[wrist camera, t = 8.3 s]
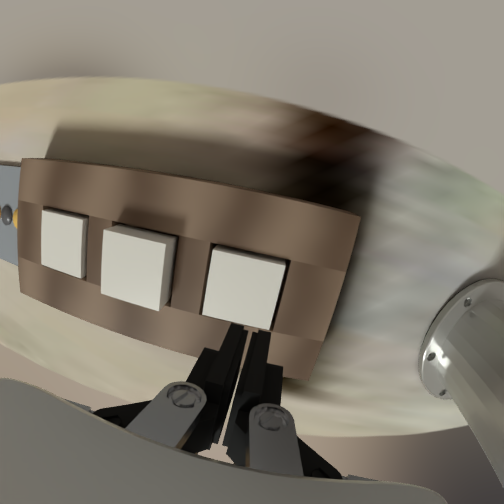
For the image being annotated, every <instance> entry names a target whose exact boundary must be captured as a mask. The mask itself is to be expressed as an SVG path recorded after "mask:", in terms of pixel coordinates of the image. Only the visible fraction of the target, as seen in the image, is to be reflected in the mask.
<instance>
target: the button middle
mask: <svg viewBox="0 0 504 504" xmlns="http://www.w3.org/2000/svg"><path fill="white" fill-rule="evenodd" d="M177 241H178V237H176V236H172V235H167V234H163V233H158V232H154V231H149V230H145V229H140V228H136V227H131V226H127V225H122V224H119V225H116V226H113V227H110V228H107V229H104V231H103V245H102V265H101V294H104V295H107V296H110V297H114V298H117V299H120V300H123V301H126V302H129V303H133V304H136V305H139V306H142V307H146V308H149V309H152V310H156V311H160V310H161V308H162V307H163V306H164V305H165V304H166V303H167V302H168V300H169V299H170V297H171V288H172V280H173V271H174V263H175V256H176V248H177Z"/></svg>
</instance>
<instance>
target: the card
mask: <svg viewBox="0 0 504 504" xmlns="http://www.w3.org/2000/svg"><path fill="white" fill-rule="evenodd" d="M20 170H21V167H17V166H7V165H0V258H1V259H3V260H5V261H8V262H10V263H12V264H14V265H17V266H18V249H17V213H18V193H19V180H20Z"/></svg>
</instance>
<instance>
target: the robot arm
mask: <svg viewBox="0 0 504 504" xmlns="http://www.w3.org/2000/svg"><path fill="white" fill-rule="evenodd" d="M248 331H249V330H244V326H243V325H239V324H235V323H231V324H230V327H229V329H228V331H227V334H226V336H225V338H224V340H223V343H222V345H221V347H220V349H219V351H217V350H213V349H210V348H206V347H205V348H204V349H203V351H202V352H201V354H200V356H199V358H198V360H197V362H196V364H195V365H194V367H193V369H192V371H191V373H190V375H189V377H188V378H187V380H186V382H181V381H180V382H173V383H170V384H168V385H167V386H165V387H164V388H163V389H162V390H161V391H160V393H159V394H158V395H157V396H156V397H155V398H154V399H153V400H150V401H145V402H139V403H134V404H128V405H122V406H116V407H109V408H103V409H99V410H97V411H92V410H91V408H90V407H88V406H85V405H82V404H78V403H75V402H72V401H69V400H66V399H63V398H60V397H58V396H56V395H54V394H53V393H50V392H48V391H46V390H43V389H41V388H39V387H37V386H34V385H31V384H29V383H26V382H22V381H18V380H15V379H9V378H0V504H447V502H446V501H445V499H444V498H443V497H442V496H441V495H439V494H438V493H436V492H434V491H432V490H430V489H427V488H424V487H419V486H415V485H411V484H405V483H398V482H385V481H378V480H372V479H368V478H363V477H358V476H353V475H348V476H347V477H344V476H341V474H340V473H339V472H338V471H337V469H335V468H334V467H333V466H332V465H331V464H329V463H328V462H327V461H326V460H324V459H323V458H322V457H321V456H319V455H318V454H317V453H316V452H315V451H314V450H312V449H311V448H310V447H309V446H308V445H306V444H305V443H304V442H303V441H302V440H301V439H300V438H299V437H297V435H296V429H295V423H294V419H293V417H292V415H291V414H290V412H289V411H288V410H286V409H285V408H283V407H281V406H280V403H281V391H282V379H283V366H279V365H275V364H270V363H267V359H268V352H269V346H270V340H271V333H272V332H268V331H263V330H258V333H257V332H252V336H251V339H250V343H249V347H248V350H247V354H246V357H245V361H244V364H243V368H242V371H241V375H240V378H239V382H238V385H237V389H236V393H235V397H234V401H233V405H232V409H231V413H230V417H229V421H228V425H227V429H226V433H225V436H224V441H223V444H222V445H223V446H227V447H228V449H227V452H226V454H227V455H228V456H229V457H230V458H231V460H232V461H233V462H234V464H230V463H226V462H222V461H218V460H214V459H211V458H207V457H203V456H200V455H198V452H201V451H203V450H206V449H208V450H210V448H211V444H212V443H216V444H218V441H219V438H220V435H221V432H222V428H223V425H224V422H225V419H226V416H227V412H228V409H229V406H230V402H231V399H232V396H233V392H234V389H235V386H236V382H237V378H238V374H239V369H240V365H241V361H242V357H243V353H244V348H245V344H246V340H247V335H248ZM419 375H420V379H421V381H422V383H423V385H424V387H425V388H426V390H427V391H428V392H429V393H430V394H431V395H433V396H434V397H436V398H440V399H453V401H454V402H455V404H456V405H457V407H458V408H459V410H460V412H461V413H462V415H463V416H464V418H465V420H466V421H467V423H468V425H469V426H470V428H471V429H472V431H473V433H474V435H475V436H476V438H477V440H478V441H479V443H480V445H481V447H482V448H483V450H484V452H485V454H486V455H487V457H488V459H489V461H490V463H491V465H492V466H493V468H494V470H495V472H496V474H497V476H498V478H499V480H500V482H501V484H502V486H503V488H504V282H503V281H500V280H498V279H485V280H481V281H478V282H476V283H474V284H471V285H469V286H468V287H466V288H465V289H463V290H462V291H461V292H459V293H458V294H457V295H456V296H455V297H454V298H453V299H452V300H450V301H449V302H448V303H447V305H446V306H445V307H444V308H443V309H442V311H441V312H440V313H439V314H438V316H437V317H436V319H435V320H434V322H433V323H432V325H431V327H430V329H429V331H428V333H427V335H426V337H425V339H424V342H423V345H422V348H421V351H420V356H419Z"/></svg>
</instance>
